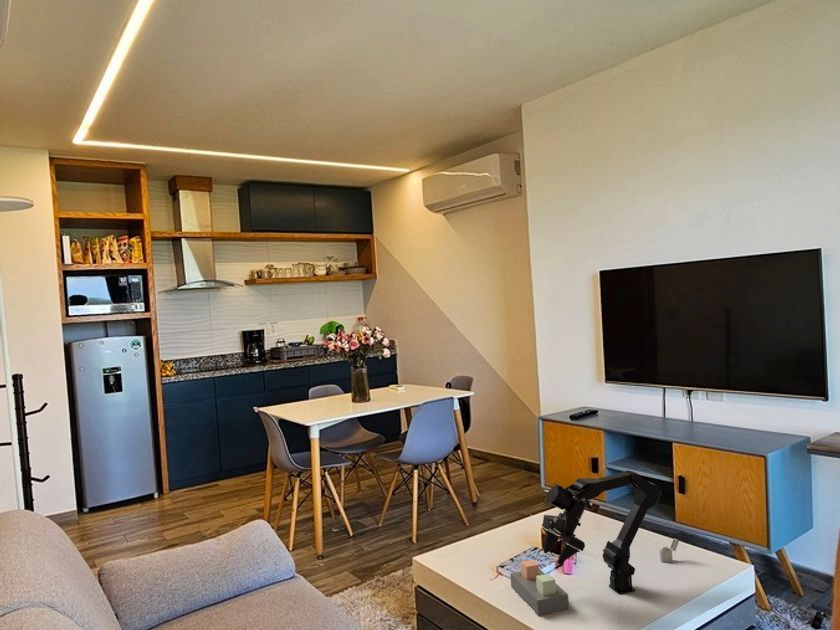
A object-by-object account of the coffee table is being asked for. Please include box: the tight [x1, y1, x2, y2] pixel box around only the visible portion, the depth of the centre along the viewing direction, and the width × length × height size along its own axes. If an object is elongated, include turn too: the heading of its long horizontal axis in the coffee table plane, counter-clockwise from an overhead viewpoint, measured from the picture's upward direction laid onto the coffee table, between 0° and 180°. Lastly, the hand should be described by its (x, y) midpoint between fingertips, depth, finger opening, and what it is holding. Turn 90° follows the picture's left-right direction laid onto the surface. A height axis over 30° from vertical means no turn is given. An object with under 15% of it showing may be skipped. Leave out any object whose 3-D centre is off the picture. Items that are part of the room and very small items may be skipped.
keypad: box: [509, 568, 570, 617], centre depth 203 cm, size 11×21×5 cm, turn 15°
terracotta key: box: [520, 559, 540, 581], centre depth 209 cm, size 5×5×6 cm
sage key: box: [536, 573, 556, 596], centre depth 197 cm, size 5×5×6 cm
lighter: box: [659, 538, 680, 563], centre depth 225 cm, size 7×2×8 cm, turn 96°
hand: (551, 558), depth 198 cm, fingers open, 9 cm apart
